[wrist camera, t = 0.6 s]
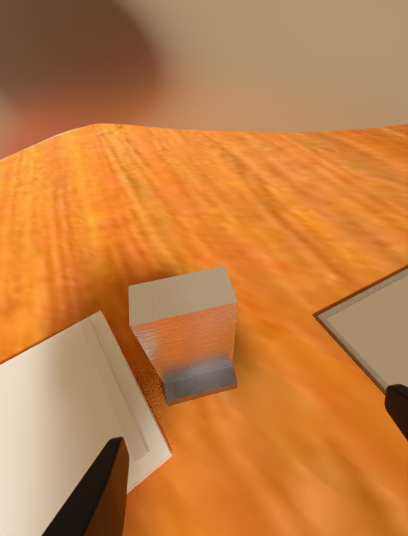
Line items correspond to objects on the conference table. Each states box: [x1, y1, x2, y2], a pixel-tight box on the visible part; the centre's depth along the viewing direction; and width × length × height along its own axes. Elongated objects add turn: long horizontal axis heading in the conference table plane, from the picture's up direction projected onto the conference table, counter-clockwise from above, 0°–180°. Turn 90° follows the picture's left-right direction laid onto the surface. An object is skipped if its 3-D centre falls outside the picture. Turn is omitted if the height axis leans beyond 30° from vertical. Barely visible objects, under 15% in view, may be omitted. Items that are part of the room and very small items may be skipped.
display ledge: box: [0, 310, 173, 536], centre depth 21 cm, size 16×14×3 cm
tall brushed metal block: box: [128, 266, 238, 406], centre depth 20 cm, size 6×6×12 cm
